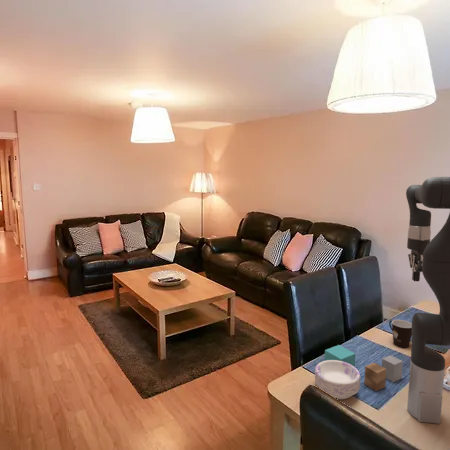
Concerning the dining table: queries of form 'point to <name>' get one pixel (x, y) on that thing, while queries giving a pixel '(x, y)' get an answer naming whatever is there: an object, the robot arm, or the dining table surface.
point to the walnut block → (375, 376)
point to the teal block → (340, 355)
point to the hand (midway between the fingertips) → (415, 280)
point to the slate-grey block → (392, 368)
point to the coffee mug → (401, 333)
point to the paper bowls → (337, 378)
